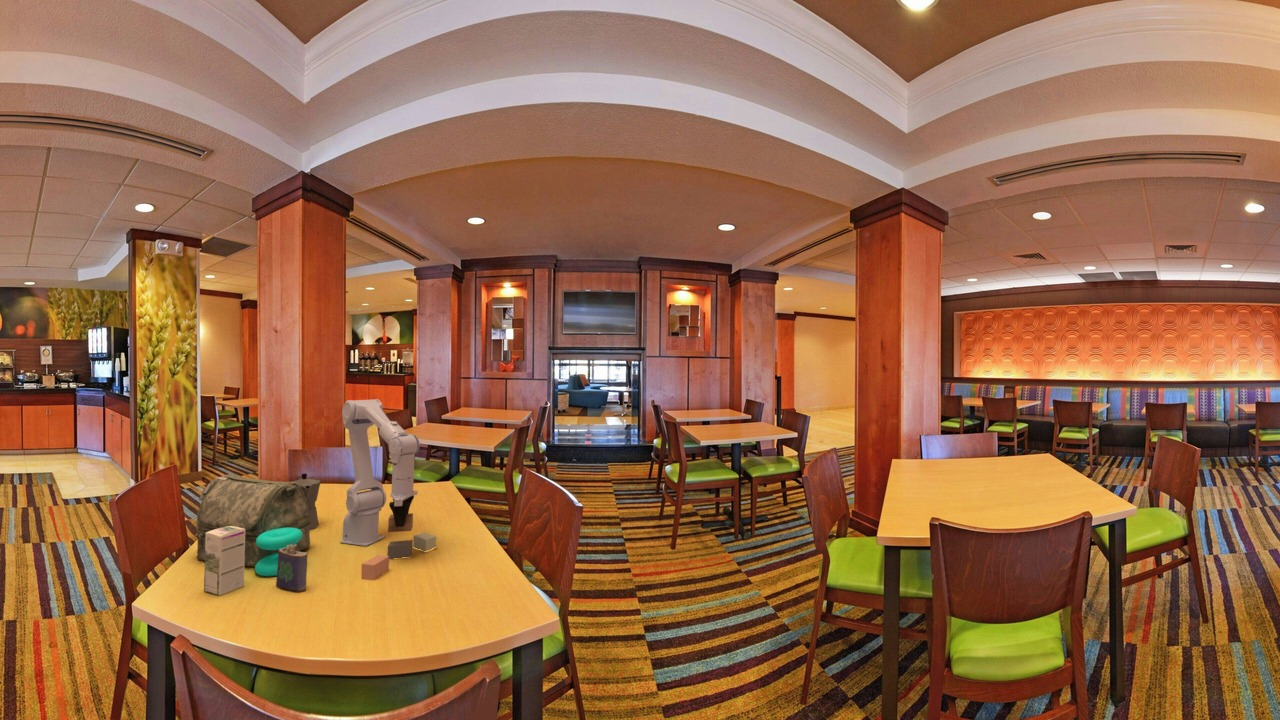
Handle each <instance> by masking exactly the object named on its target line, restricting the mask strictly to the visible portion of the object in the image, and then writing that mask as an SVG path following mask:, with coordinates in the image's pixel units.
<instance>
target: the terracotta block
mask: <svg viewBox="0 0 1280 720" xmlns="http://www.w3.org/2000/svg"><path fill="white" fill-rule="evenodd" d="M389 566H390V560H389V556H387V555H380V554H376V555H375V556H373V557H371V558H369V559H368V560H367V561H364V562H363V563H361V575H360V576H361V580H367V581H375V580H376V579H378V578H380V577H381V576H383V575H384V574H386V573H387V572H389V571H390V567H389ZM388 570H389V571H388ZM386 571H387V572H386ZM385 572H386V573H385ZM383 573H384V574H383ZM380 575H381V576H380ZM377 577H378V578H377ZM374 579H375V580H374Z"/></svg>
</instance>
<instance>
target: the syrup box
mask: <svg viewBox="0 0 1280 720" xmlns="http://www.w3.org/2000/svg"><path fill="white" fill-rule="evenodd" d="M244 565H245V529H244V528H239V527H235V526H225V527H221V528H218V529H214V530H211V531H209V532H206V537H205V560H204V572H203V573H204V575H203V578H204V579H203V592H206V593H209V594H213V595H216V596H222V595H225V594H227V593H231V592H233V591H236V590H238V589H240V588H243V587H245V566H244Z"/></svg>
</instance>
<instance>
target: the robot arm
mask: <svg viewBox="0 0 1280 720" xmlns="http://www.w3.org/2000/svg"><path fill="white" fill-rule="evenodd" d="M341 413H342V414H341V415H342V420H343V427H344V428H345V429H347V431H348V436H349V437H348V438H349V441H350V442H349V444H350V452H351V459H352V466H353V473H354V474H353V475H354V480H355V481H354V483H353V484H352V485H351V486H350V487H349V488H348V489H347V490H346V500H345V506H346V510H347V514H346V515H345V516H344V517H343V521H342V540H340V541H339V542H340V543H341V544H347V545H355V546H362V547H367V546H369V545H371V544H375V543H376V542H378V541H381V540H382V539H384V538H385V535H382V534H381V535H380V534H379V518H380V512H381V511H382V509H383V508H384V506H385V505H386V503H387V494H386V492H385V490H384V487H383V483H382V482H381V481H378V480H377V479H376V478H374V470H373V465H372V463H373V462H372V458H371V457H372V456H371V450H370V449H371V448H370V442H369V433H368V430H369V428H370V427H372V426H376V427H377V428H378V429H379V431H378V434H379V436H380V437H381V439H382V440H383V441H384V442H385V443H386V444H387V445H388V452H389V454H390V462H391V463H392V470H391V471H392V475H391V477H392V478H391V492H390V497H391V498H392V501H390V502H389V503H388V506H389V508H390V510H391V512H392V515H394V521H395V525H396V527H403V526H404V524H405V521H406V516H407V514H409V512H410V508H411V505H412V502H413V501H414V499H415V496H416V495H418V492H419V491H418V490H414V485H415V483H414V479H415V459H416V458H415V457H416V456H415V455H416V454H418V452H419V450H420V445H421V444H420V440H419V438H418V436H417V434H414V433H413V434H411V433H407V432H406V431H405V429H403V427H401V425H400V424H399V423H398V421H393V420H392V421H391V420H390V419H389V418H388V416H387V415H386V413H385V412H384V405H383V403H382V401H381V400H380V399H378V398H375V399H357V400H355V399H354V400H352V399H348V400H346V401H345V402H344V403H343V406H342V410H341Z"/></svg>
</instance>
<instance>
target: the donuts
mask: <svg viewBox="0 0 1280 720" xmlns="http://www.w3.org/2000/svg"><path fill="white" fill-rule="evenodd" d="M302 535H303V534H302V531H301V530H299V529H297V528H278V529H273V530H269V531H266V532H264V533H262V534H261V535H259V536H258V537H257V539H256V544H257V546H258V547H259V548H261V549H265V550H278V549H281V548H286V547H287V545H289V546H290V545H294V544H296V543H298V542H299V541H300V540H301V538H302ZM277 567H278V553H276V554H272V555H269V556H267V557H264V558H263V559H261V560H260V561H259V562H258V563H257V564H256V566H254V572H255V574H257V575H259V576H262V577H277Z"/></svg>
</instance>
